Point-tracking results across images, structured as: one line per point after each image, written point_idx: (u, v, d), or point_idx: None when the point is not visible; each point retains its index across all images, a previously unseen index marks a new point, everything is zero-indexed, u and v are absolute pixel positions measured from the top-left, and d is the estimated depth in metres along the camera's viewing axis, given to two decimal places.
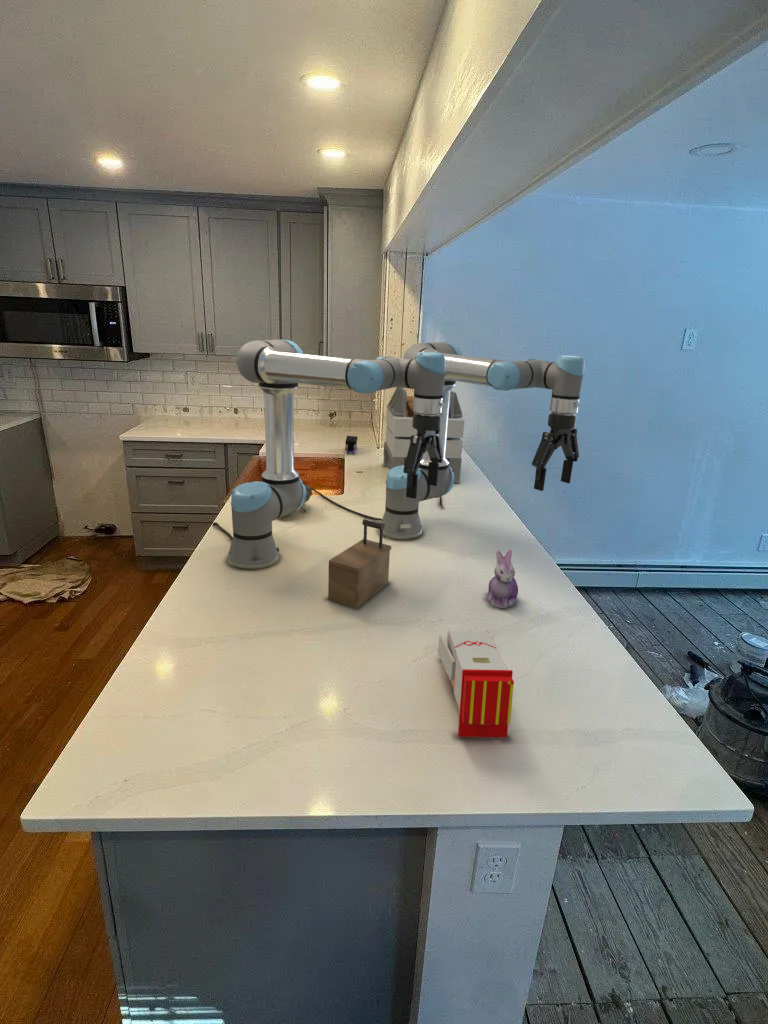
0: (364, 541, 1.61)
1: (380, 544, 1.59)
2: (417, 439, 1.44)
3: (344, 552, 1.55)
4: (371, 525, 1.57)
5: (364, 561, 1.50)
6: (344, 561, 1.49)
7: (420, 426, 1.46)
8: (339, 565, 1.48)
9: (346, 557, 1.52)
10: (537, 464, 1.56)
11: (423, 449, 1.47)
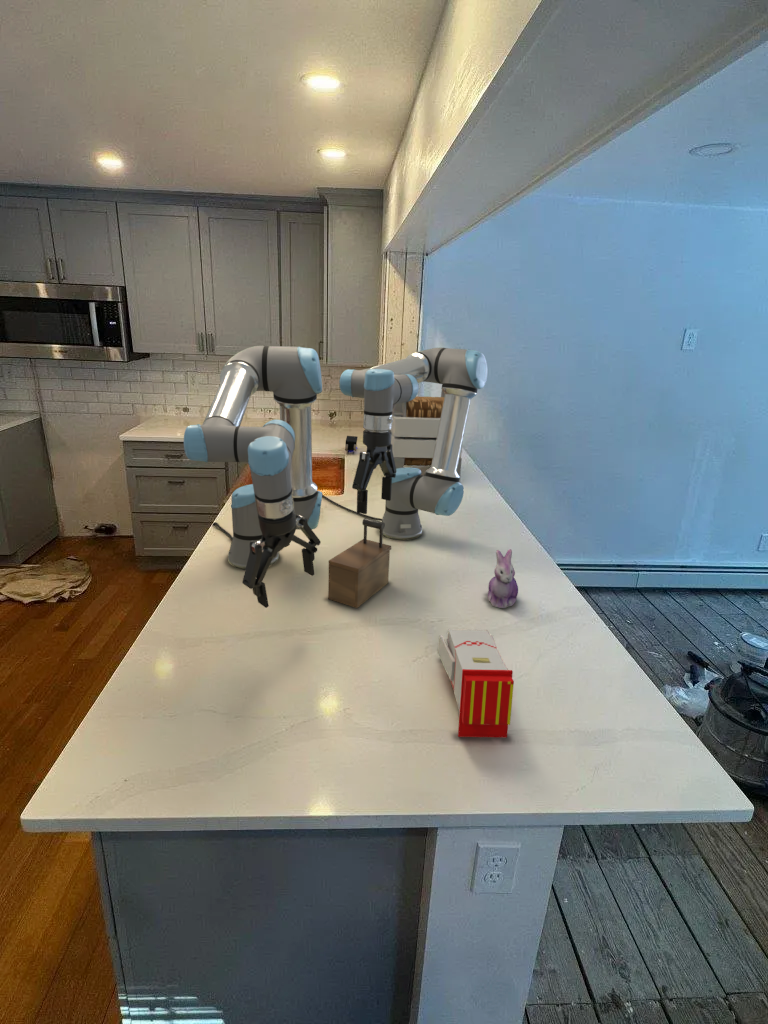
0: (364, 541, 1.61)
1: (380, 544, 1.59)
2: (255, 549, 1.14)
3: (344, 552, 1.55)
4: (371, 525, 1.57)
5: (364, 561, 1.50)
6: (344, 561, 1.49)
7: (263, 530, 1.15)
8: (339, 565, 1.48)
9: (346, 557, 1.52)
10: (358, 487, 1.45)
11: (270, 555, 1.18)
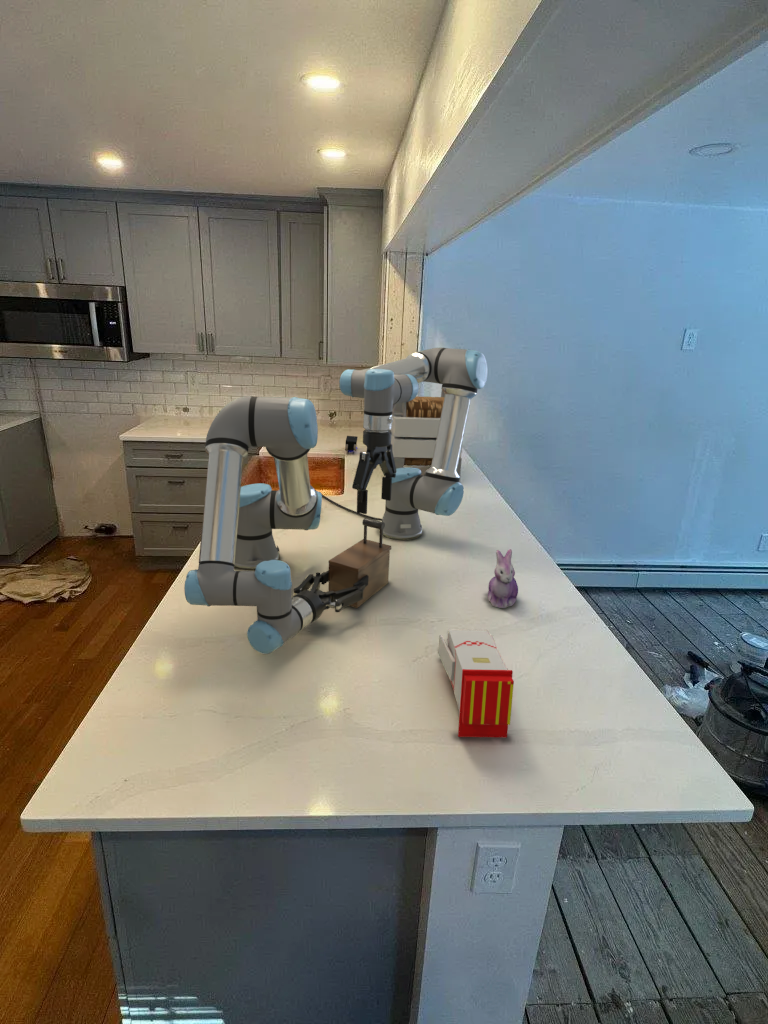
0: (364, 541, 1.61)
1: (380, 544, 1.59)
2: None
3: (344, 552, 1.55)
4: (371, 525, 1.57)
5: (364, 561, 1.50)
6: (344, 561, 1.49)
7: None
8: (339, 565, 1.48)
9: (346, 557, 1.52)
10: (358, 487, 1.45)
11: None
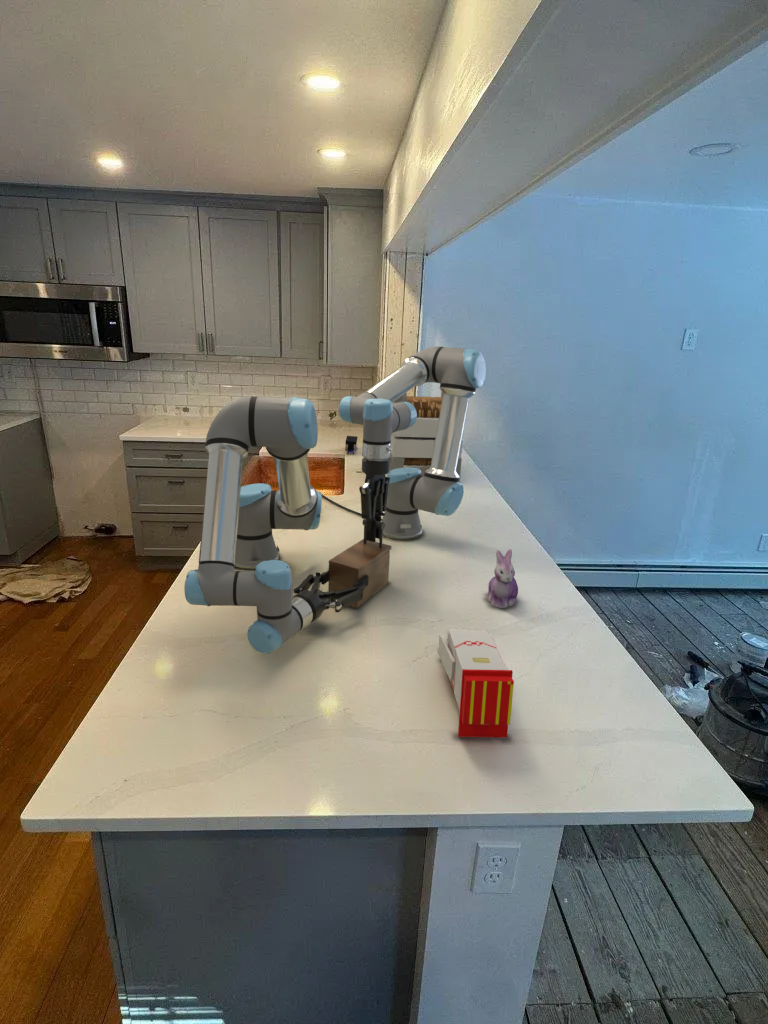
0: (364, 541, 1.61)
1: (380, 544, 1.59)
2: None
3: (344, 552, 1.55)
4: None
5: (364, 561, 1.50)
6: (344, 561, 1.49)
7: None
8: (339, 565, 1.48)
9: (346, 557, 1.52)
10: (367, 517, 1.53)
11: None
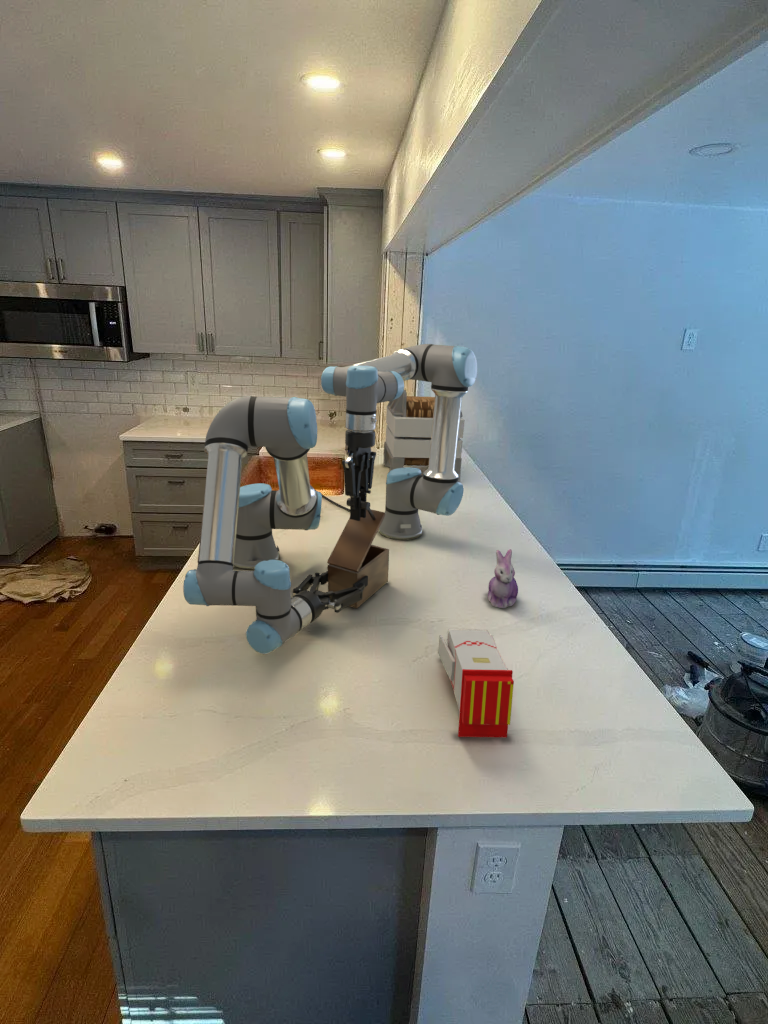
0: None
1: (372, 518, 1.51)
2: None
3: (339, 541, 1.51)
4: None
5: (361, 553, 1.47)
6: (341, 560, 1.48)
7: None
8: (338, 566, 1.48)
9: (342, 550, 1.49)
10: (351, 494, 1.43)
11: None
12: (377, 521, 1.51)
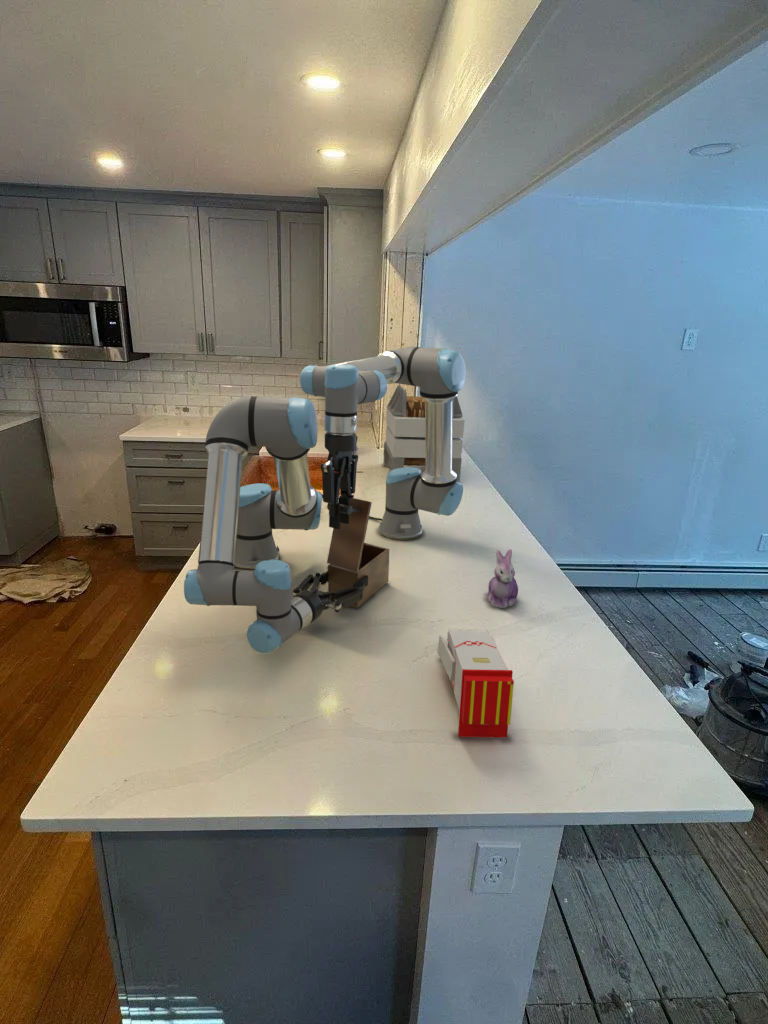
0: None
1: (359, 511, 1.44)
2: None
3: (333, 538, 1.48)
4: None
5: (356, 552, 1.45)
6: (340, 560, 1.47)
7: None
8: None
9: (338, 549, 1.47)
10: (329, 500, 1.34)
11: None
12: (365, 513, 1.44)
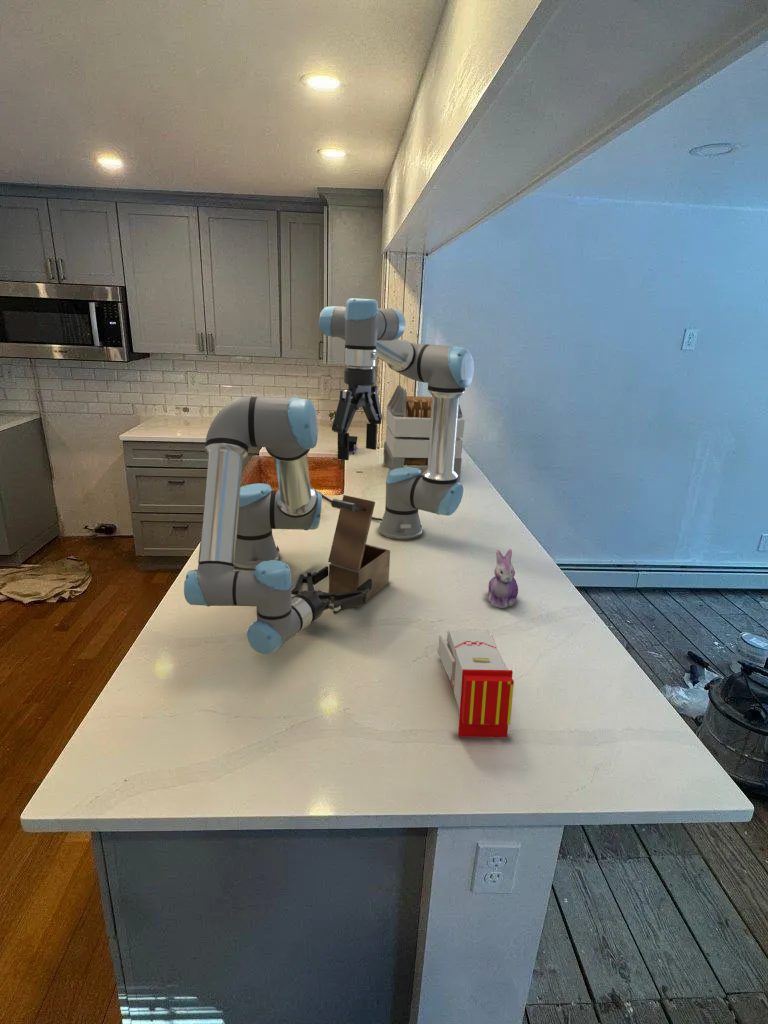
0: None
1: (362, 510, 1.45)
2: None
3: (335, 537, 1.49)
4: (342, 509, 1.42)
5: (358, 551, 1.46)
6: (341, 559, 1.48)
7: None
8: None
9: (340, 548, 1.48)
10: (338, 429, 1.31)
11: None
12: (368, 512, 1.46)
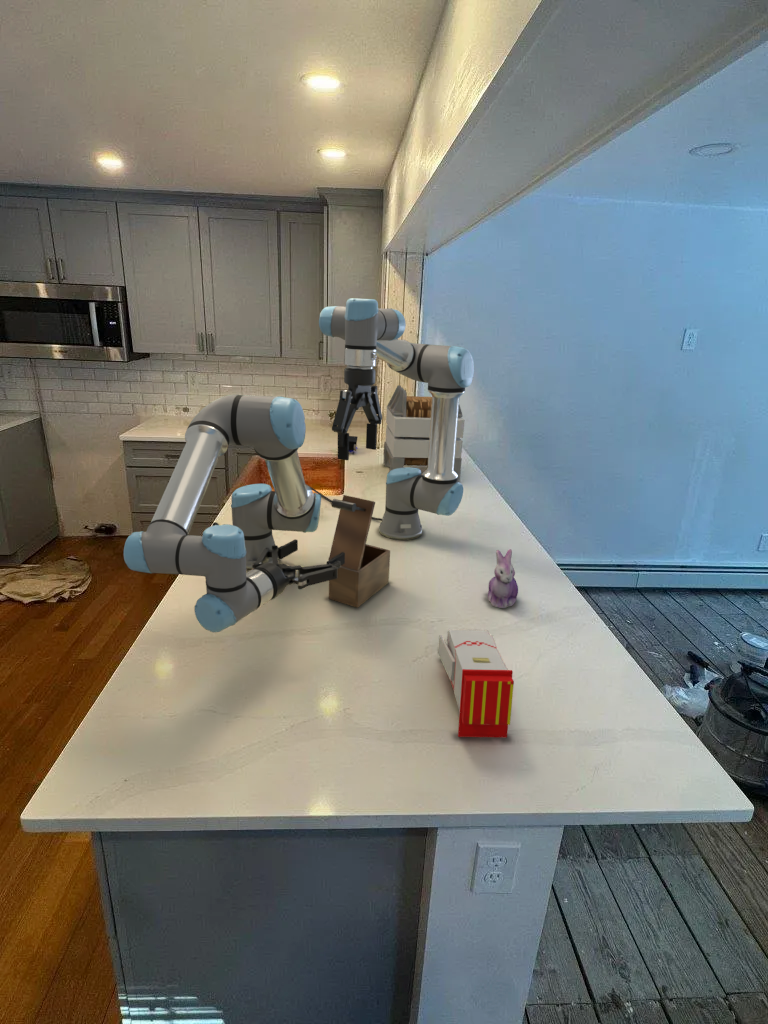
0: None
1: (362, 510, 1.45)
2: None
3: (335, 537, 1.49)
4: (342, 509, 1.42)
5: (358, 551, 1.46)
6: None
7: None
8: None
9: (340, 548, 1.48)
10: (338, 429, 1.31)
11: None
12: (368, 512, 1.46)
